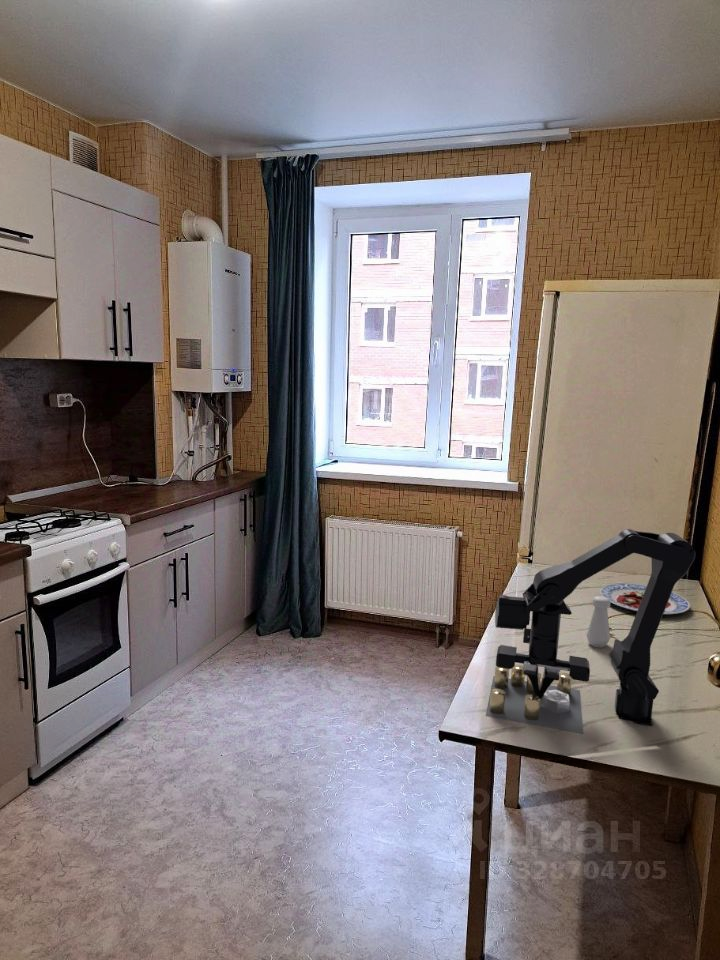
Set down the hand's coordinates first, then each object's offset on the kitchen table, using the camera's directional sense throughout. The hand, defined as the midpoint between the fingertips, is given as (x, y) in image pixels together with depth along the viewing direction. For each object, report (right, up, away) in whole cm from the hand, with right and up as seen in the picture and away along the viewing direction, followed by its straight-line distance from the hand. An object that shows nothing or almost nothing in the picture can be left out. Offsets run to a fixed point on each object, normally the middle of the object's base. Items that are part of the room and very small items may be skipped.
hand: (538, 699), depth 133 cm
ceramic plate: (+51, +8, +63) cm, 82 cm away
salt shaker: (+25, +3, +32) cm, 41 cm away
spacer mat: (-1, -1, +1) cm, 2 cm away
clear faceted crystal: (+3, -1, -1) cm, 4 cm away
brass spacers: (-1, -1, +2) cm, 2 cm away
